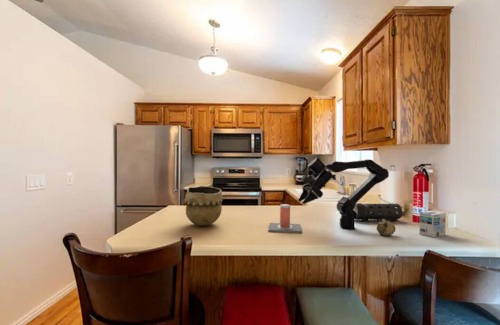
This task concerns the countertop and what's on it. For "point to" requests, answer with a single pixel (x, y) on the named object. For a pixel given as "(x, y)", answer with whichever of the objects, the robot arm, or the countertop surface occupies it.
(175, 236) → the countertop surface
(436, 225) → the light bulb box
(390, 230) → the onion
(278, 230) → the mat
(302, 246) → the countertop surface
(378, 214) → the muzzle brake
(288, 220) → the salt shaker
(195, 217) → the clay pot
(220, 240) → the countertop surface
